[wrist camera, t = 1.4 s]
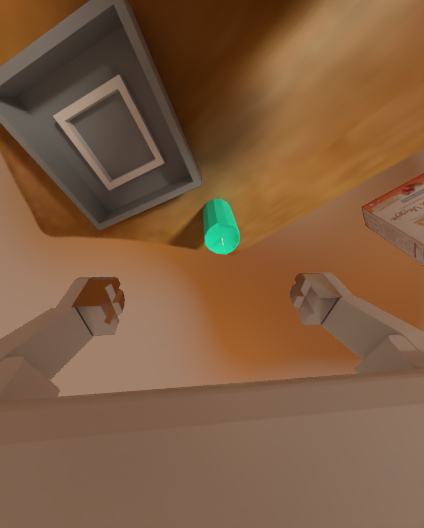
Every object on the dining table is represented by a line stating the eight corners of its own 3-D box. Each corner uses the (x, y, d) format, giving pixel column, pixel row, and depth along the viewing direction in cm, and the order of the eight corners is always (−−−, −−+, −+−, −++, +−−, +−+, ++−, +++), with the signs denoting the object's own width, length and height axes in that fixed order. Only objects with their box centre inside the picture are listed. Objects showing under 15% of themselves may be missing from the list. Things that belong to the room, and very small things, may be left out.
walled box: (131, 7, 22) (114, -19, 18) (201, 174, 35) (201, 185, 30) (9, 92, 26) (-31, 89, 22) (110, 216, 38) (98, 231, 34)
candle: (233, 221, 41) (244, 254, 32) (207, 228, 42) (210, 263, 32) (228, 194, 37) (238, 223, 28) (198, 203, 38) (199, 234, 29)
